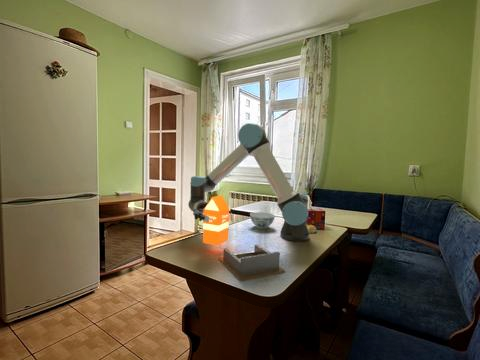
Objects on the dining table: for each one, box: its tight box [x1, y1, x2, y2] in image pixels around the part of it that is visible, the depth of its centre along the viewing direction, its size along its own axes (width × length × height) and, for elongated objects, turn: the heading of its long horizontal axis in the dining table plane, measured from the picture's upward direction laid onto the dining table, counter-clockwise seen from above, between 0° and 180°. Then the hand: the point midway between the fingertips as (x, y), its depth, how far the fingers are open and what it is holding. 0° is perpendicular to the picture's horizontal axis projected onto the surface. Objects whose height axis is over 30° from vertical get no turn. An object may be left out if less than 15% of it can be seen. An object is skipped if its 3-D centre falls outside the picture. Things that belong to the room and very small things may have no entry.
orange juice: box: [202, 195, 230, 246], centre depth 109 cm, size 8×9×20 cm
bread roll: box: [307, 224, 317, 234], centre depth 148 cm, size 8×9×4 cm
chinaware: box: [249, 211, 276, 230], centre depth 152 cm, size 15×15×8 cm
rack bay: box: [217, 244, 286, 282], centre depth 96 cm, size 20×18×7 cm
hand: (220, 218), depth 105 cm, fingers closed on orange juice, 10 cm apart
